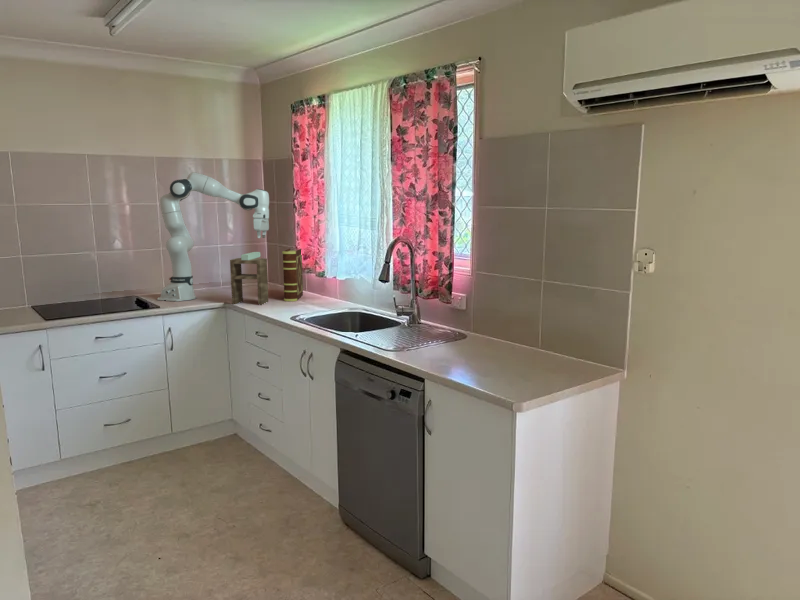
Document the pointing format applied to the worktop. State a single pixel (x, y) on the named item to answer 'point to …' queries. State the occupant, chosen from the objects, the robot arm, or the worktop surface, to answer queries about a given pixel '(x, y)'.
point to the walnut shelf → (238, 276)
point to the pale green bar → (250, 256)
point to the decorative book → (292, 275)
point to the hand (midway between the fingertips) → (261, 237)
